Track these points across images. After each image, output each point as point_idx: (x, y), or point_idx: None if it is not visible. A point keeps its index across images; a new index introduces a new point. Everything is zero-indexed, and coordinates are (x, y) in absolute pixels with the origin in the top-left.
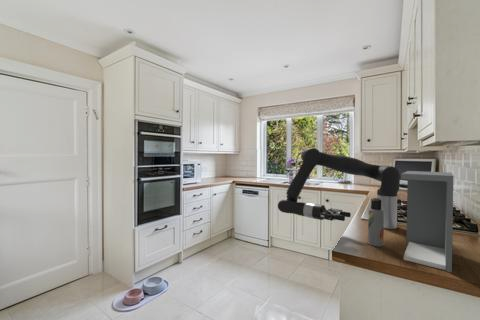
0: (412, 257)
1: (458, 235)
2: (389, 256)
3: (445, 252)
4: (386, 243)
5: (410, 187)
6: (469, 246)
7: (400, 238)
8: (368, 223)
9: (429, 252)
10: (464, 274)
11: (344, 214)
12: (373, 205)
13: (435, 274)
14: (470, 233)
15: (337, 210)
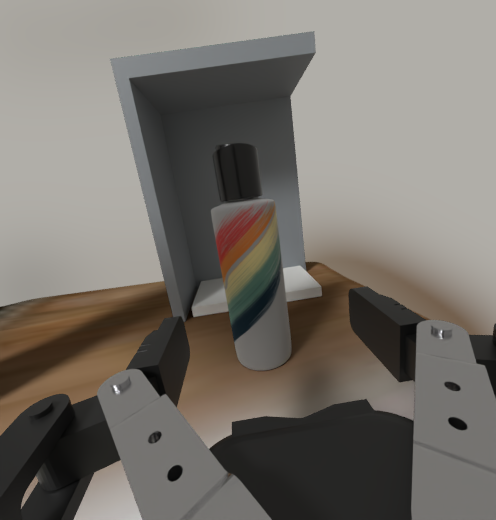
0: (314, 281)
1: (53, 304)
2: (335, 309)
3: None
4: (222, 342)
5: (143, 130)
6: (135, 287)
7: (133, 340)
8: (266, 279)
9: None
10: None
11: (174, 372)
12: (259, 175)
13: (336, 272)
14: (31, 301)
15: (165, 398)
